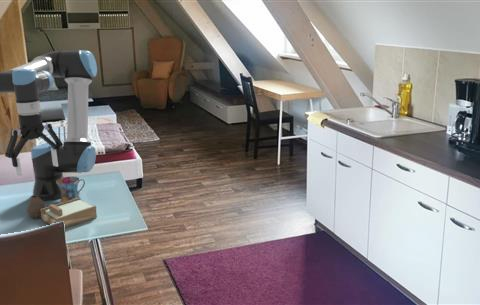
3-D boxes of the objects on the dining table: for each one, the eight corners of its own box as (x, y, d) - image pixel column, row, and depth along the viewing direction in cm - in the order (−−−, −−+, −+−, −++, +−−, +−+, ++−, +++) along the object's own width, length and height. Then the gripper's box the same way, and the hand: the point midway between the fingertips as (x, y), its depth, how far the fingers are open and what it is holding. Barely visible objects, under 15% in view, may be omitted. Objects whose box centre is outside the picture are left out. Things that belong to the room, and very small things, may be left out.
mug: (65, 209, 198) (61, 185, 195) (55, 203, 204) (52, 180, 201) (91, 201, 206) (89, 178, 203) (81, 196, 212) (78, 173, 209)
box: (41, 220, 188) (40, 209, 186) (79, 208, 199) (78, 197, 197) (58, 230, 178) (56, 218, 177) (96, 217, 189) (95, 206, 188)
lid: (45, 213, 187) (44, 204, 186) (79, 202, 197) (78, 194, 196) (59, 221, 179) (57, 212, 178) (94, 209, 189) (93, 201, 188)
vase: (28, 221, 187) (25, 200, 185) (28, 215, 193) (25, 194, 191) (47, 218, 190) (44, 197, 187) (46, 212, 196) (43, 191, 193)
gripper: (-3, 120, 158) (7, 181, 164) (67, 109, 175) (74, 164, 181) (-12, 117, 163) (-2, 176, 168) (57, 106, 180) (64, 160, 186)
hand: (38, 170), depth 175 cm, fingers open, 13 cm apart
